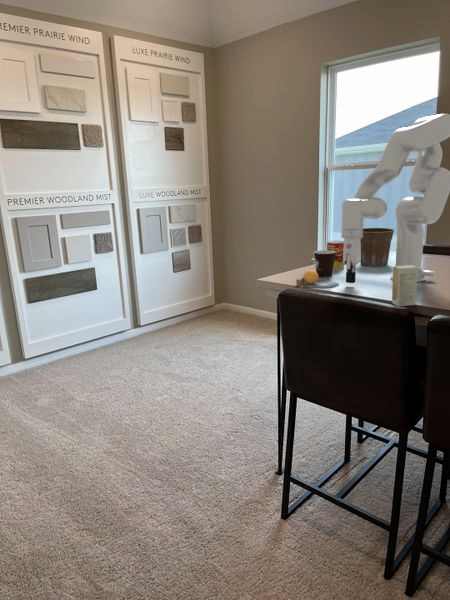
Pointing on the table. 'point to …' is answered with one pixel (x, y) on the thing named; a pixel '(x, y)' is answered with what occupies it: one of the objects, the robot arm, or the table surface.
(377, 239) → the plant pot
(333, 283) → the disc
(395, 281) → the skincare box
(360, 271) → the table surface
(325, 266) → the coffee mug
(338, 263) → the canned food
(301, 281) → the stopper rail
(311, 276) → the ball
